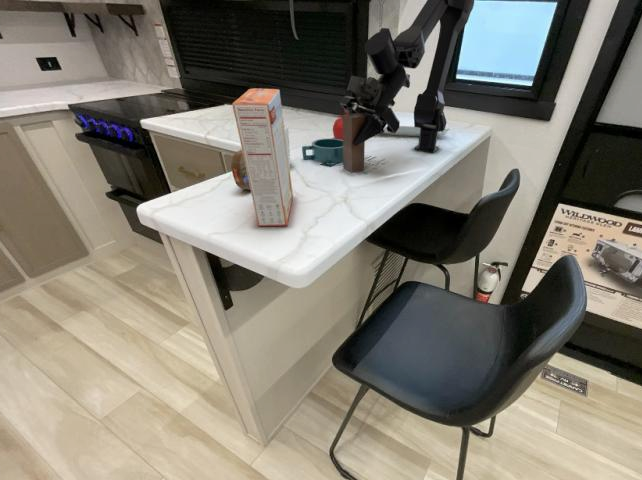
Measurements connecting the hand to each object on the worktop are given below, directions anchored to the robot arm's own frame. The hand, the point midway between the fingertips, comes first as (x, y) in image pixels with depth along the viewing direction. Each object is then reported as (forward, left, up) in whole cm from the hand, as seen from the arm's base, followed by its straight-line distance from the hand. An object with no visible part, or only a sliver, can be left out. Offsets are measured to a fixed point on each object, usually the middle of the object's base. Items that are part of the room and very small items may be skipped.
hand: (349, 142), depth 83 cm
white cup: (+7, -18, -8) cm, 21 cm away
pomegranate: (-28, -16, -8) cm, 33 cm away
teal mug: (-6, -11, -7) cm, 14 cm away
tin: (+19, -15, -8) cm, 26 cm away
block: (-1, +1, -7) cm, 7 cm away
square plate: (-55, -4, -8) cm, 56 cm away
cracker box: (+29, -1, -8) cm, 30 cm away
